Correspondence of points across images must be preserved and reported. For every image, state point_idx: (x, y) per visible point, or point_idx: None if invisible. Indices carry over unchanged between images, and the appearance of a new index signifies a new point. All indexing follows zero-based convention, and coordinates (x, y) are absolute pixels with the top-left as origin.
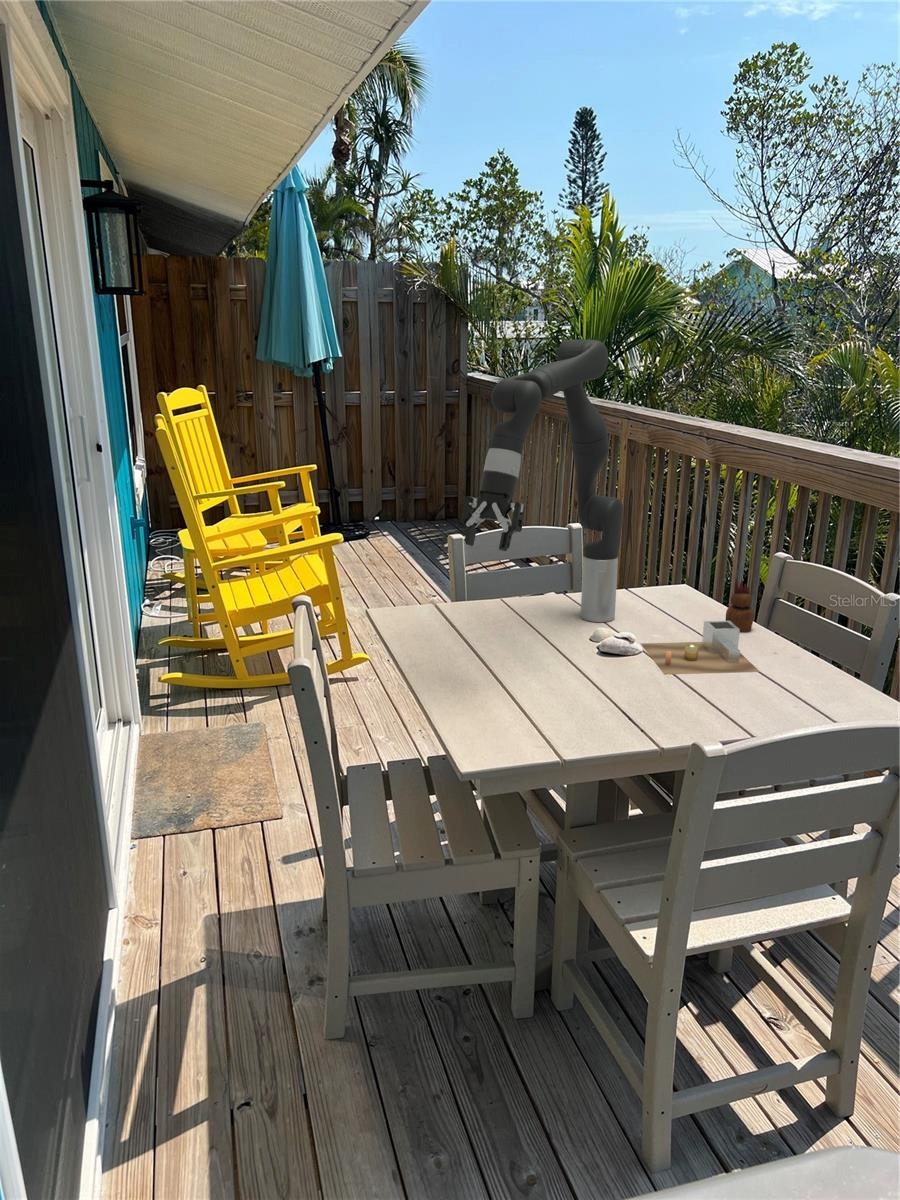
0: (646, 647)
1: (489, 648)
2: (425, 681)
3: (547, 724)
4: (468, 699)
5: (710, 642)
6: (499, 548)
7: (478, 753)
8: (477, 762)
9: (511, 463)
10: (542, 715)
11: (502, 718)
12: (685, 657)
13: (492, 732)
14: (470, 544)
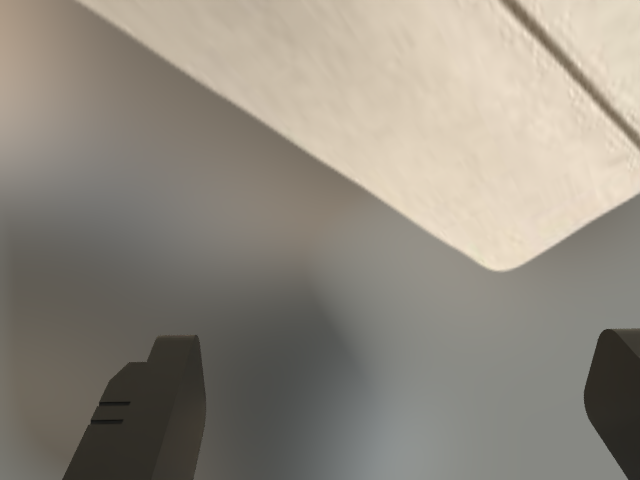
0: None
1: None
2: (157, 17)
3: (618, 61)
4: (353, 51)
5: None
6: (592, 411)
7: (500, 234)
8: (510, 254)
9: None
10: (595, 20)
11: (492, 96)
12: None
13: (495, 162)
14: (200, 379)
